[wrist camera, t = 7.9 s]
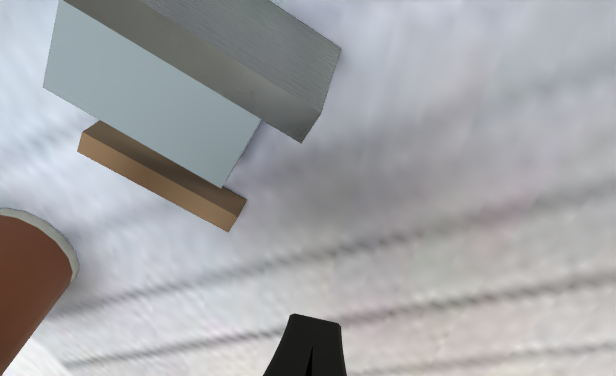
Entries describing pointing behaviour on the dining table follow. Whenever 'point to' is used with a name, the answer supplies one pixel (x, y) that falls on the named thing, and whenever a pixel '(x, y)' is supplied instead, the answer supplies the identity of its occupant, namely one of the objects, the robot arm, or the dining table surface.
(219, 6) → the grey flat block
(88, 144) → the walnut rail
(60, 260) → the coffee cup
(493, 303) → the dining table surface
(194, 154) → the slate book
